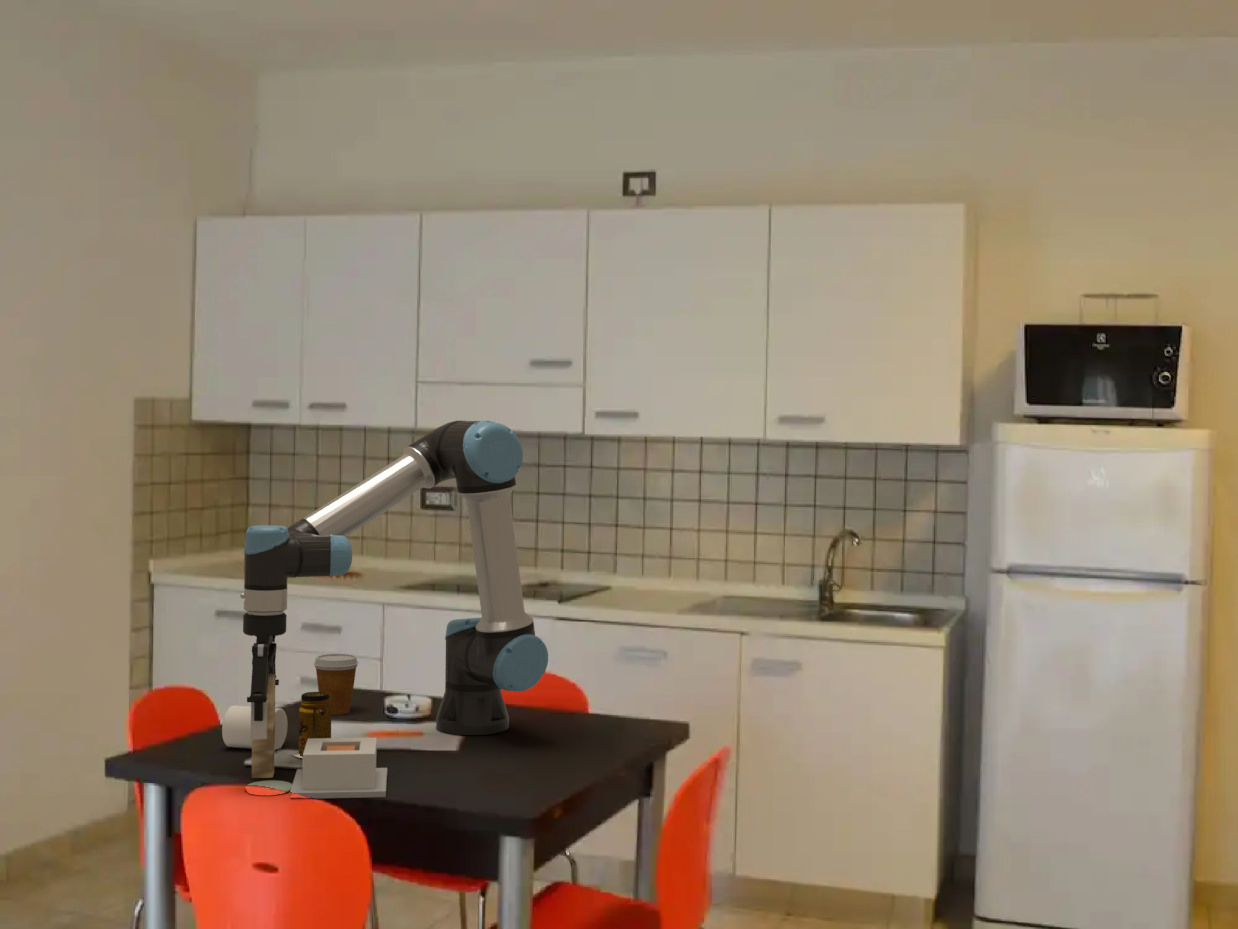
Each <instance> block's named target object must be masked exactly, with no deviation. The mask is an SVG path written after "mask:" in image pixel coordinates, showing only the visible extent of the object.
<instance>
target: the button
mask: <svg viewBox="0 0 1238 929" xmlns="http://www.w3.org/2000/svg"><path fill="white" fill-rule="evenodd" d="M343 750H355V745H349V746H327V750H326V751H343Z"/></svg>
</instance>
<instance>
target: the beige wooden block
mask: <svg viewBox="0 0 1238 929" xmlns="http://www.w3.org/2000/svg"><path fill="white" fill-rule="evenodd" d="M275 678H277V675H276V674H269V675H268V686H267V700H266V701H267V739H252V749H251V779H267V778H268V779H271V778H273V777H274V774H275V751H276V750H275V708H276V685H275Z"/></svg>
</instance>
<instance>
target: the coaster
mask: <svg viewBox="0 0 1238 929" xmlns="http://www.w3.org/2000/svg"><path fill="white" fill-rule="evenodd" d="M292 784H293V783H292V782H289V781H285V780H275V779H273V780H271V779H270V780H261V781H253V782H251V783H249V784H247V785H258V786H265V787H270V788H275V789H278V790H282V791H291V787H292Z"/></svg>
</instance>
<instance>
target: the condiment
mask: <svg viewBox="0 0 1238 929" xmlns="http://www.w3.org/2000/svg"><path fill="white" fill-rule="evenodd" d="M329 697H330V696H329V694H328V693H326V692H319V691H308V692H304V693H302V694H301V697H300V698H301V703H300V705H301V706H300V708H299V710H298V754H300V756H302V757H303V753H304V749H305V746H306V743H307V740H308V739H310V738H332V715H331V708H330V706H329V704H330V701H329Z"/></svg>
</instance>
